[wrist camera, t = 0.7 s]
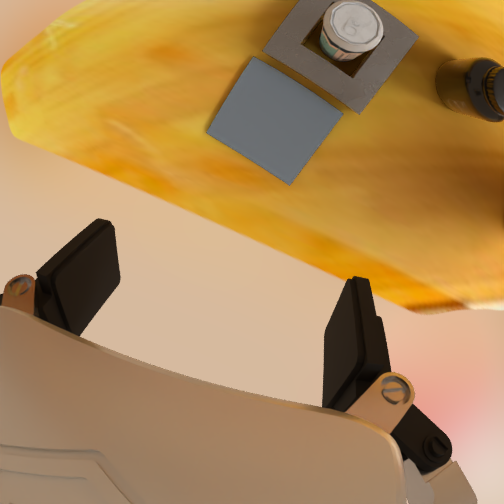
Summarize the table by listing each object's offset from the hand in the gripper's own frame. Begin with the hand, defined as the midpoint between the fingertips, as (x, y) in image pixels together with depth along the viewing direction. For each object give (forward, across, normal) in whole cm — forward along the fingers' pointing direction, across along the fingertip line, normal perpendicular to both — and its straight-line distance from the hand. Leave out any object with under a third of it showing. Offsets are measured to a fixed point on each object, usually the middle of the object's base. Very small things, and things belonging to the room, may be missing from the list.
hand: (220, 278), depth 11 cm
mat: (+27, +1, -2) cm, 27 cm away
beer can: (+27, -4, -13) cm, 31 cm away
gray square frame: (+27, -4, -13) cm, 30 cm away
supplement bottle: (+27, -20, -14) cm, 36 cm away
